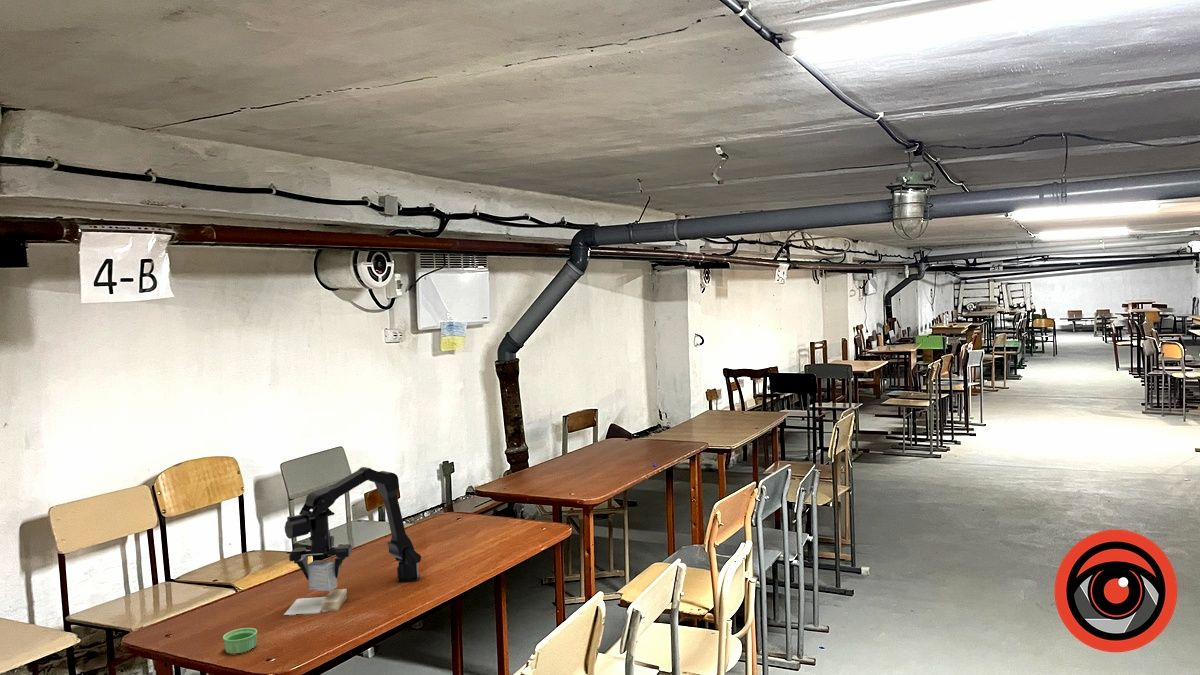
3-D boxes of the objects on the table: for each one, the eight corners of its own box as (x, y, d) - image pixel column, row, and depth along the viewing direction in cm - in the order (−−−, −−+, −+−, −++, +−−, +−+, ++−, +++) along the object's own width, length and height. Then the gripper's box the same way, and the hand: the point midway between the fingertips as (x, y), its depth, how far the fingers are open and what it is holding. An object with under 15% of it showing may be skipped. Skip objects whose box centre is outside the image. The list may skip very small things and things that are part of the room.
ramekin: (216, 653, 226) (215, 638, 226) (241, 641, 235) (240, 626, 235) (241, 657, 223) (240, 641, 223) (265, 644, 232) (264, 629, 232)
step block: (347, 597, 268) (346, 588, 267) (338, 610, 256) (337, 601, 255) (331, 598, 267) (331, 589, 267) (322, 612, 255) (321, 602, 255)
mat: (331, 597, 268) (330, 596, 268) (319, 613, 254) (319, 612, 254) (297, 600, 267) (297, 598, 267) (283, 615, 253) (283, 614, 253)
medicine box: (337, 587, 262) (336, 561, 262) (329, 592, 258) (327, 565, 257) (317, 585, 264) (316, 559, 264) (308, 590, 260) (307, 563, 260)
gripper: (354, 522, 269) (357, 568, 270) (297, 526, 268) (300, 572, 268) (346, 531, 258) (349, 579, 258) (287, 535, 257) (290, 584, 257)
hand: (322, 578), depth 261 cm, fingers closed on medicine box, 9 cm apart
